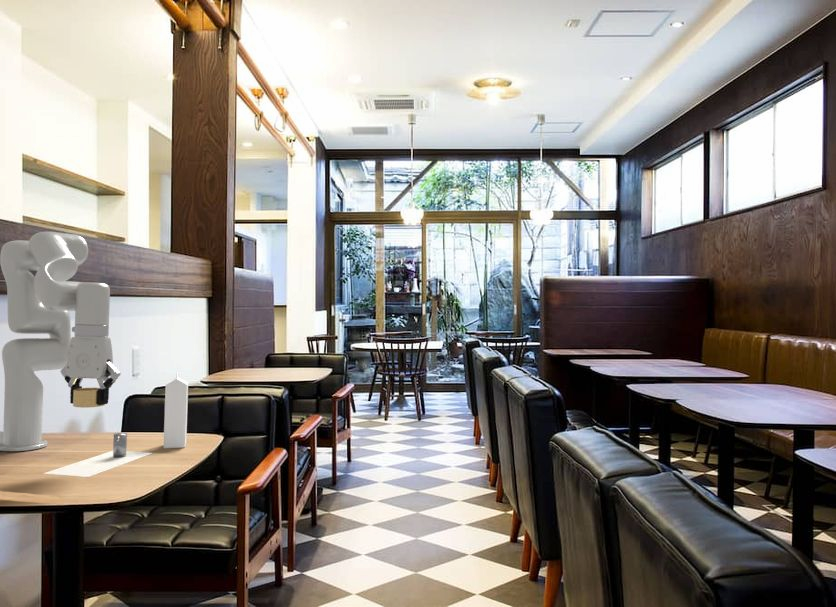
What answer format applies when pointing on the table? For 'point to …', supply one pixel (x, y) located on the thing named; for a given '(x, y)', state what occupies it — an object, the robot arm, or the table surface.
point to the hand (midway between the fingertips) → (89, 403)
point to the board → (96, 464)
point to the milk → (175, 413)
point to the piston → (119, 445)
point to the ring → (85, 397)
